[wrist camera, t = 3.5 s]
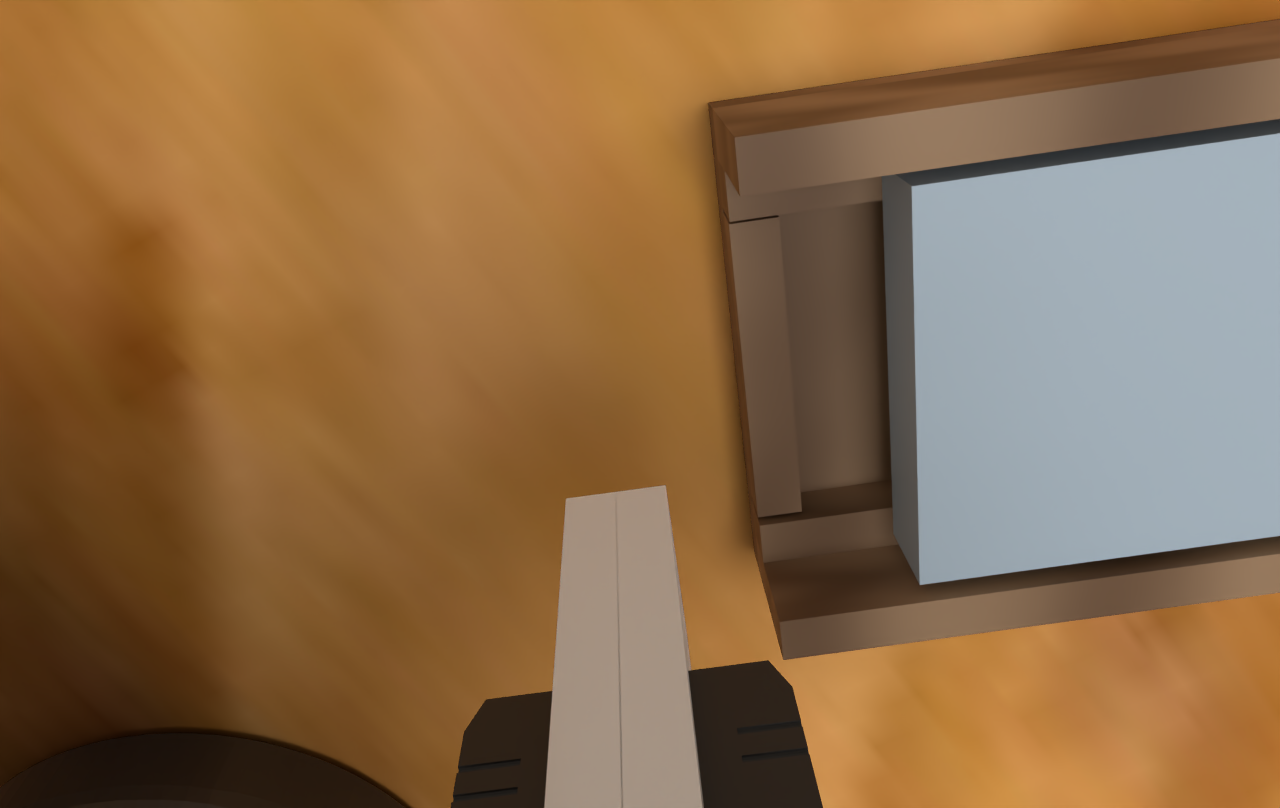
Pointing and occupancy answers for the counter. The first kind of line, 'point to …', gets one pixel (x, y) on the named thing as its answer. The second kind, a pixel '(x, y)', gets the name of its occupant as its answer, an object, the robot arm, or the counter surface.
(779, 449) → the lid box
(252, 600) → the counter surface
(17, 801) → the robot arm
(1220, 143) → the cover plate
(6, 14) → the counter surface
